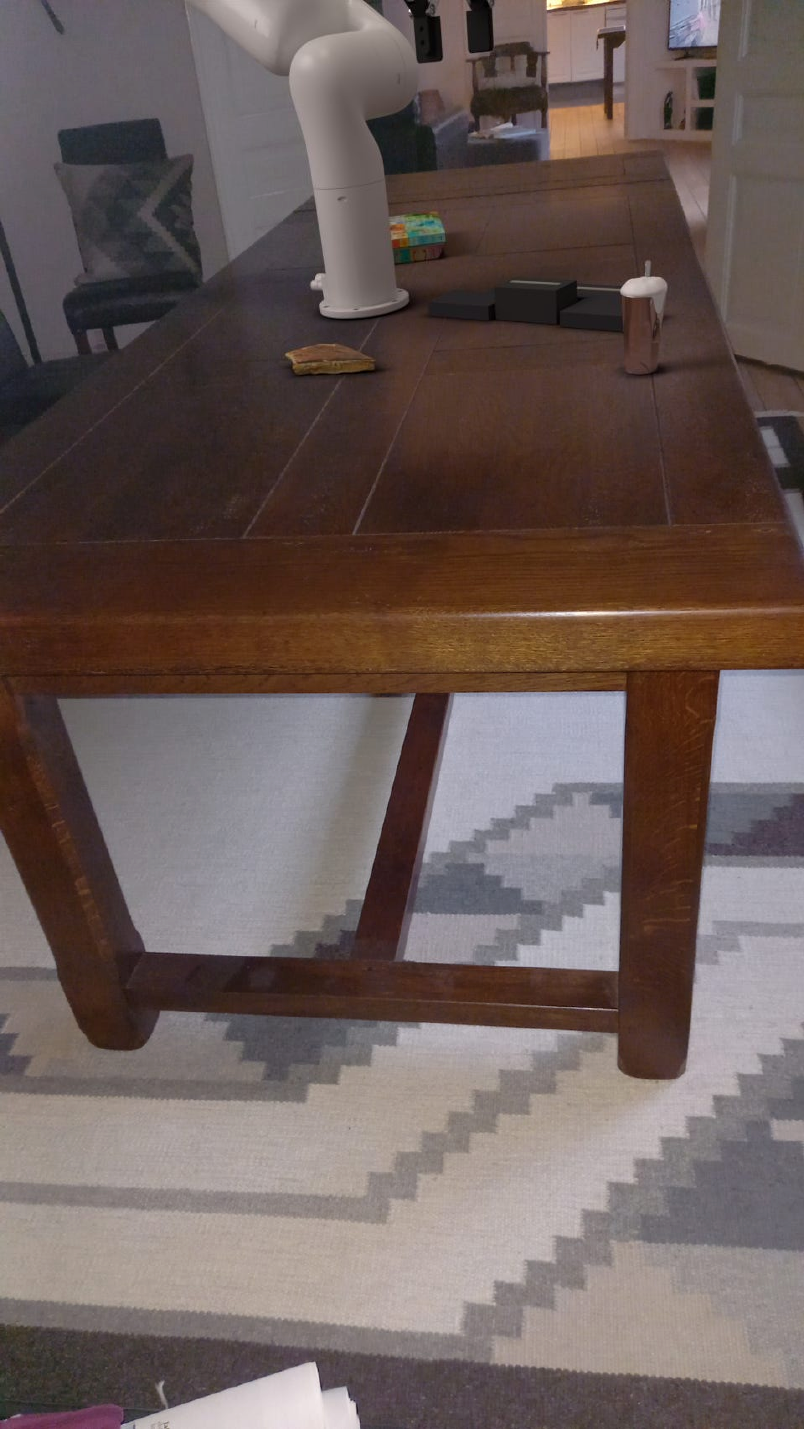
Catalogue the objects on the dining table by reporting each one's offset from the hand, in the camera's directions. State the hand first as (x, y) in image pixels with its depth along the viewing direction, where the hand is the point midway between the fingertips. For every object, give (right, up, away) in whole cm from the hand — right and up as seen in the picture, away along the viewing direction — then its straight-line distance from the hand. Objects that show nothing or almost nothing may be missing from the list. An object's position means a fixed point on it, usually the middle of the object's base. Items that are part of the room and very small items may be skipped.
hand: (456, 57), depth 109 cm
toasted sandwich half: (-14, -32, +8) cm, 35 cm away
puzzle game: (-5, +5, +57) cm, 58 cm away
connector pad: (+11, -23, +15) cm, 29 cm away
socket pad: (+13, -21, +17) cm, 30 cm away
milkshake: (+19, -37, -6) cm, 42 cm away
